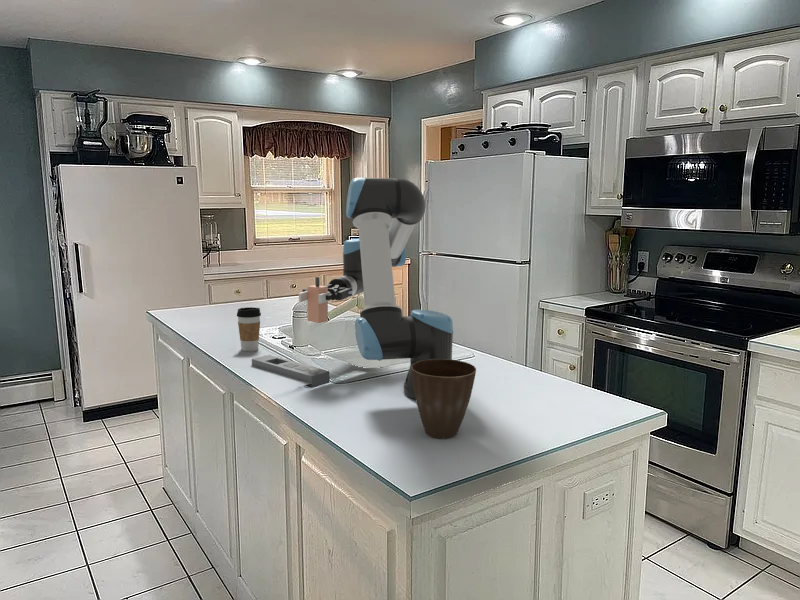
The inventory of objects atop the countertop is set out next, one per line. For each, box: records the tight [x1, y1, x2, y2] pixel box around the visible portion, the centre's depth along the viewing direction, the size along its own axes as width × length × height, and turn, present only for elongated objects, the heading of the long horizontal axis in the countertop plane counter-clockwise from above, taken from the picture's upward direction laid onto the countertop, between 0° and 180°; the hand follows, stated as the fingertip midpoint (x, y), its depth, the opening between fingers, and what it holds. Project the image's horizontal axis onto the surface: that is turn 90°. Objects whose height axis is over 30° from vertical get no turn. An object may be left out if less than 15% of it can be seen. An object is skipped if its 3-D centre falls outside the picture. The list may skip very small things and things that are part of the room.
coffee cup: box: [236, 306, 262, 352], centre depth 218 cm, size 8×8×15 cm
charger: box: [306, 276, 329, 324], centre depth 191 cm, size 5×4×14 cm
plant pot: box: [411, 359, 477, 440], centre depth 142 cm, size 15×15×16 cm
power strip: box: [251, 354, 330, 389], centre depth 187 cm, size 28×7×4 cm, turn 50°
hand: (309, 298), depth 186 cm, fingers closed on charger, 6 cm apart
